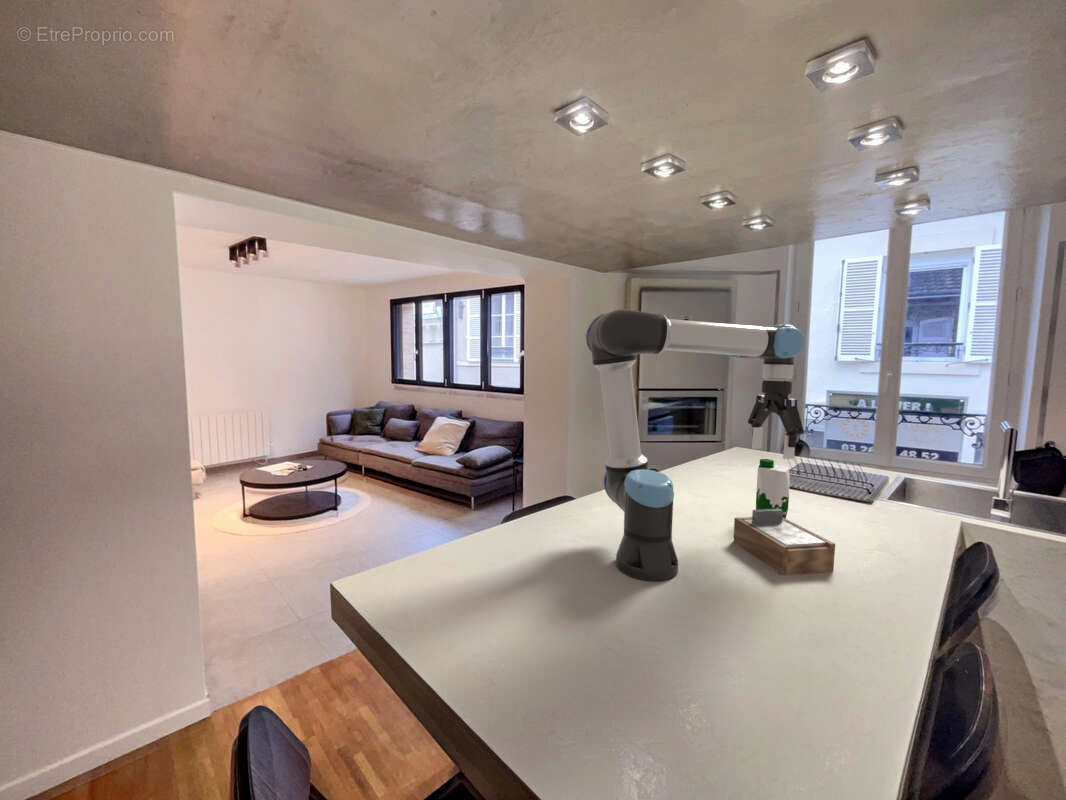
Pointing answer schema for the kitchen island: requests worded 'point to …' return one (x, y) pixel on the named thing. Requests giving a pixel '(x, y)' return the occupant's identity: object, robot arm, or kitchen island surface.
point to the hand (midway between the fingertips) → (771, 453)
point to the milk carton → (772, 486)
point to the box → (784, 550)
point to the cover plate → (782, 529)
